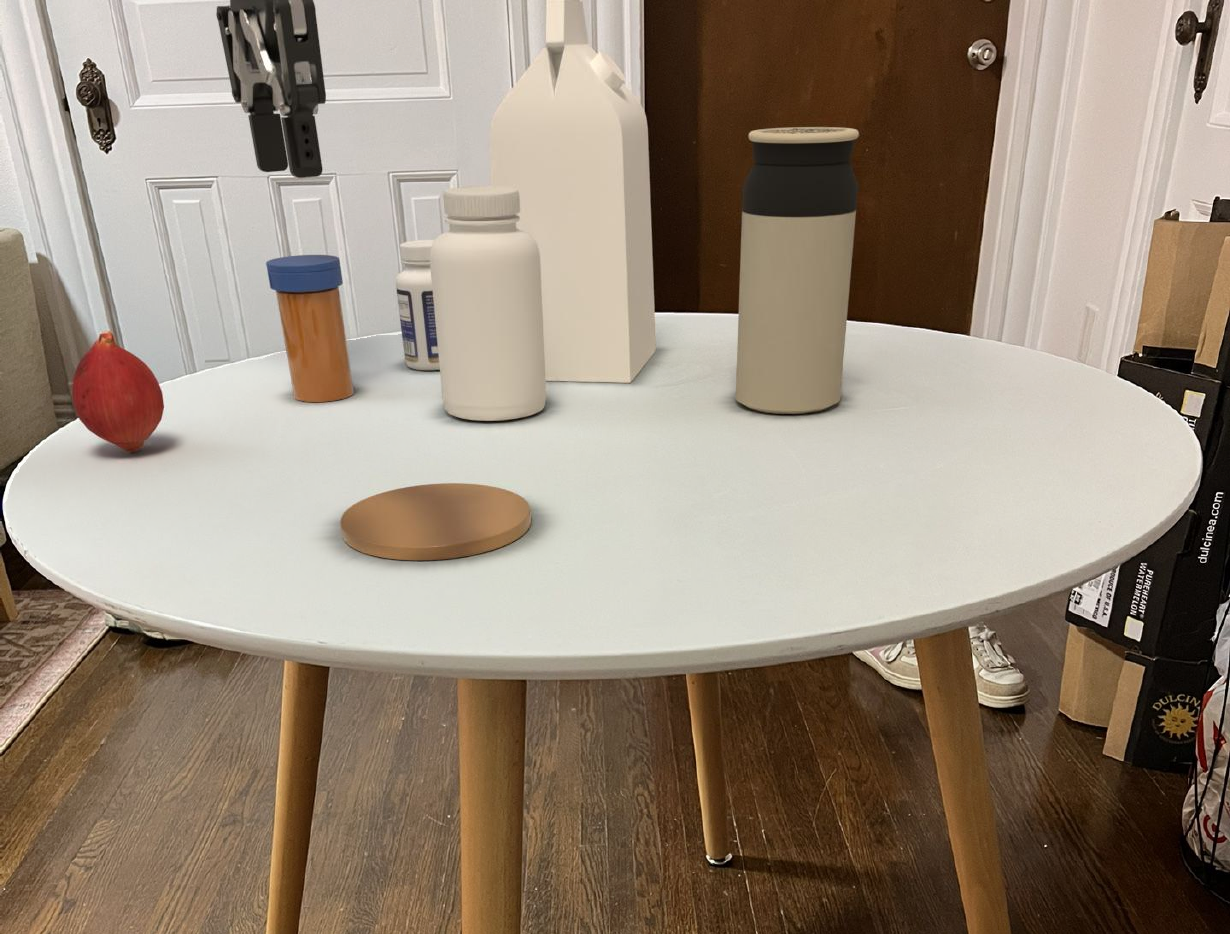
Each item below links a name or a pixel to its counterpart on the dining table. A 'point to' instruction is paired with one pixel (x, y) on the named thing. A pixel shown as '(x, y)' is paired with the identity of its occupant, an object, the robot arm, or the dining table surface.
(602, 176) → the milk
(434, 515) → the coaster
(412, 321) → the pill bottle
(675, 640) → the dining table surface
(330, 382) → the jar
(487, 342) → the pill bottle
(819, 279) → the travel mug
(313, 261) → the lid
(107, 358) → the onion
